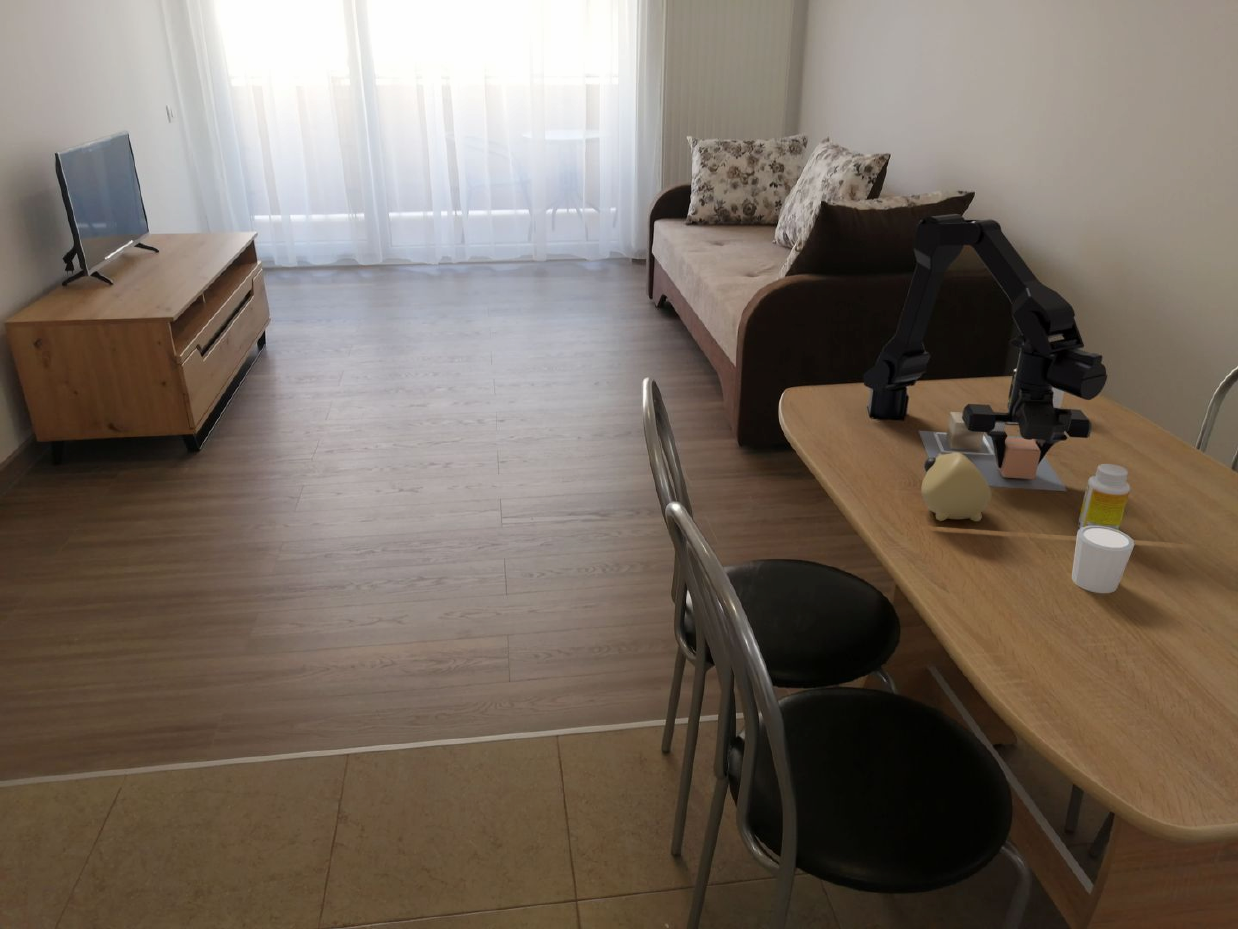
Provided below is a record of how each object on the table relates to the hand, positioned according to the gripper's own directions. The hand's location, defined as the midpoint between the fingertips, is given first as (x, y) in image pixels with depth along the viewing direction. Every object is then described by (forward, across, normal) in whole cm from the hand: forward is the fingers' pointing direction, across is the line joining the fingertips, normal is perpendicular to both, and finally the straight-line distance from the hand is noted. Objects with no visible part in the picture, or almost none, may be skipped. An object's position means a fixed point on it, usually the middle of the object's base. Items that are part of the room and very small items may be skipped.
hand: (1015, 468), depth 155 cm
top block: (+1, 0, 0) cm, 1 cm away
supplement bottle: (+2, +8, -17) cm, 19 cm away
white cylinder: (+2, +3, -32) cm, 32 cm away
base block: (+1, -6, +12) cm, 13 cm away
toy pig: (+2, -13, -15) cm, 20 cm away
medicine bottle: (+2, +12, +35) cm, 37 cm away
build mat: (+2, -3, +6) cm, 7 cm away
